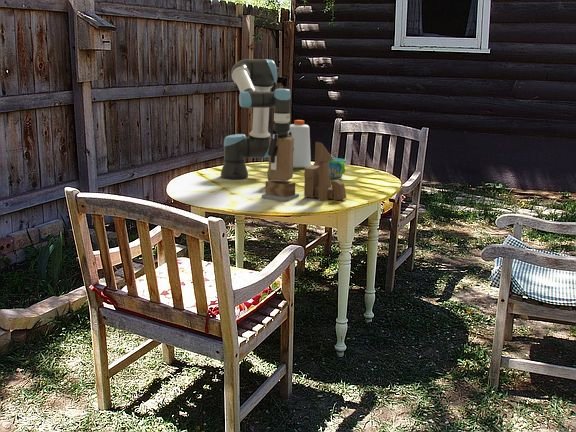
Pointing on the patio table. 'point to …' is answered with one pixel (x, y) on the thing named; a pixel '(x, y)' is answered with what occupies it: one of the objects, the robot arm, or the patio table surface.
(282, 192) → the walnut brick
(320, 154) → the wooden blocks
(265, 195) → the plate
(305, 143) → the plastic bottle
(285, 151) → the wooden block
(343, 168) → the snack cup
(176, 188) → the patio table surface
